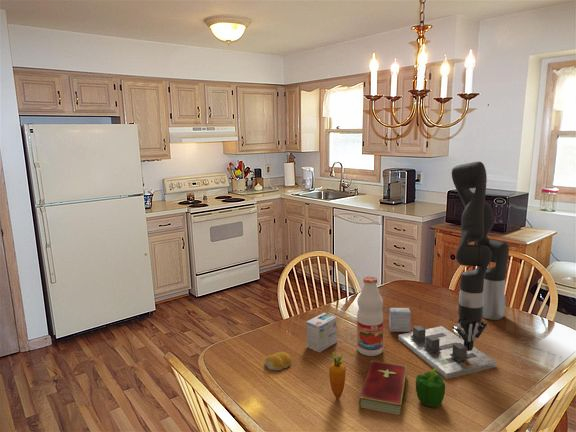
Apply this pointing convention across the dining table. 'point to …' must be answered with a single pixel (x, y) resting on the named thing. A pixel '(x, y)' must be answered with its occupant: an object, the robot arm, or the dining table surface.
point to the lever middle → (432, 343)
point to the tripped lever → (459, 352)
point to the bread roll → (278, 361)
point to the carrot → (337, 376)
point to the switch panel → (447, 354)
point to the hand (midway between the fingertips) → (468, 349)
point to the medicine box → (399, 319)
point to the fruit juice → (370, 319)
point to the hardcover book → (383, 387)
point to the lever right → (418, 333)
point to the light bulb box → (321, 332)
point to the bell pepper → (430, 388)
